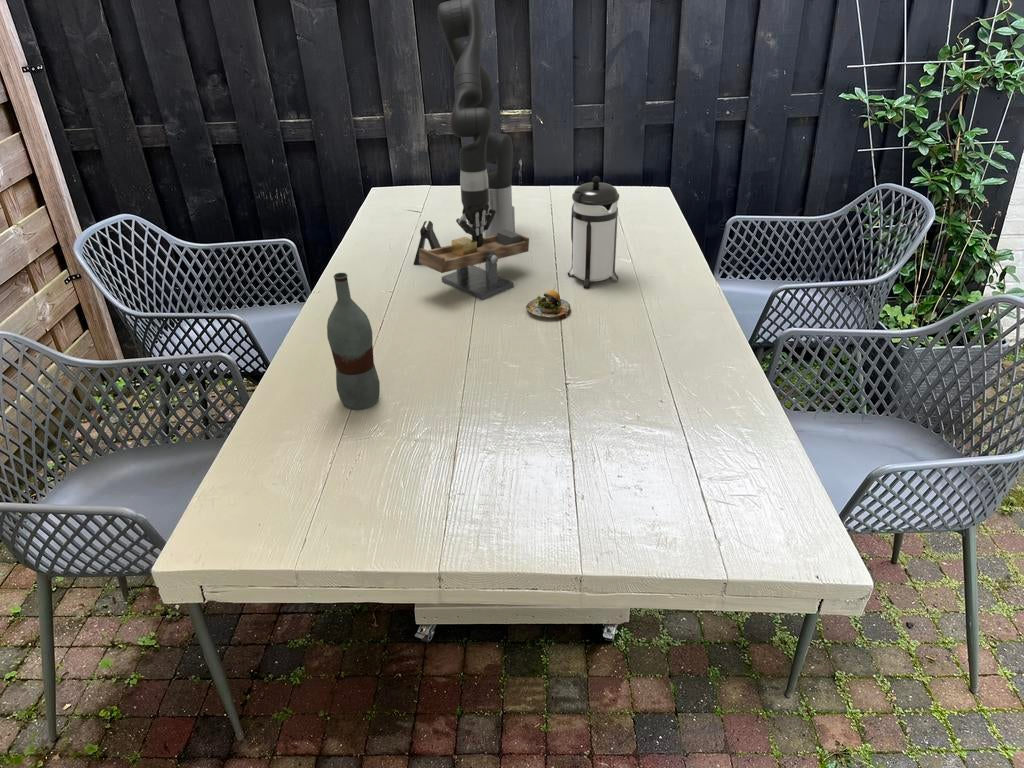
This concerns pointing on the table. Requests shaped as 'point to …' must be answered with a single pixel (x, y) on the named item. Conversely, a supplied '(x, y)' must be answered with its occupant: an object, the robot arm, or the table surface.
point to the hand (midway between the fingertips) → (477, 246)
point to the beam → (447, 262)
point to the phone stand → (433, 241)
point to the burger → (549, 306)
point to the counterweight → (508, 238)
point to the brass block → (463, 246)
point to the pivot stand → (479, 279)
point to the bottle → (352, 350)
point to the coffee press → (594, 231)
